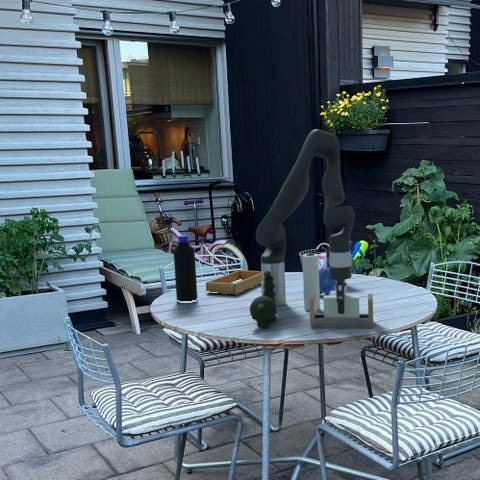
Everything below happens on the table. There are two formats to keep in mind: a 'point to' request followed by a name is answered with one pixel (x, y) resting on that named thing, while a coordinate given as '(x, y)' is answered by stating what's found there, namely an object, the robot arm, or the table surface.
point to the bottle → (185, 270)
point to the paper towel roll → (311, 279)
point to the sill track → (322, 322)
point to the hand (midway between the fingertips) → (341, 310)
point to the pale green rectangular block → (349, 307)
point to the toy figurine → (265, 304)
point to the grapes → (326, 282)
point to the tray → (226, 286)
